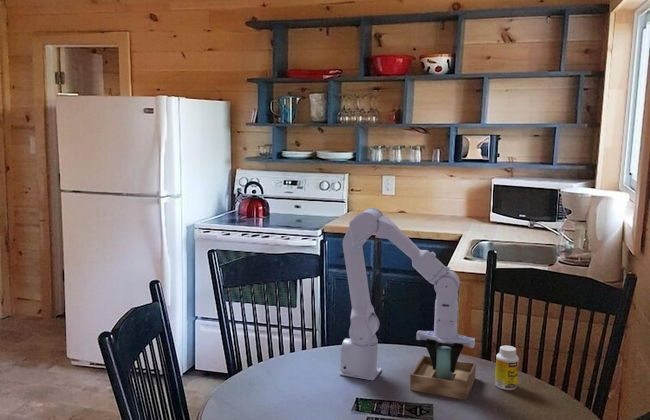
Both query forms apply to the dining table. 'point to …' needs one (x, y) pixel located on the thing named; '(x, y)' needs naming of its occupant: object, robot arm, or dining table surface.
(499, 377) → the supplement bottle
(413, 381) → the box
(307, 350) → the dining table surface
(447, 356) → the peg
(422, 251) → the robot arm
